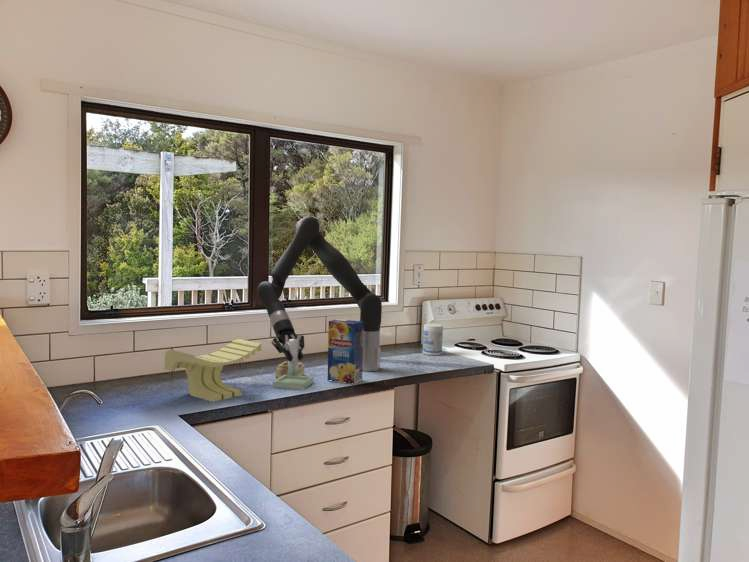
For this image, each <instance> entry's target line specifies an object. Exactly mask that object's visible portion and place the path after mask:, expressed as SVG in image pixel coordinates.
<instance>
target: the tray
mask: <svg viewBox="0 0 749 562" xmlns="http://www.w3.org/2000/svg"><path fill="white" fill-rule="evenodd" d="M312 382H313V383H314V376H306V375H304V376H288V375H283V376H281V377H280V378H275V380H273V381H272V388H277V387H282V388H281V389H288V388H292V389H291V390H300V389H303V390H304V388H305V387H306V388H308V387H309V386H310V385H311V383H312ZM313 383H312V384H313ZM309 384H310V385H309ZM308 385H309V386H308ZM306 388H305V389H306Z"/></svg>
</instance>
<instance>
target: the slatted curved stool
mask: <svg viewBox="0 0 749 562" xmlns="http://www.w3.org/2000/svg"><path fill="white" fill-rule="evenodd" d="M256 352H262V342H257V341H251V340H247V339H241V338H236V339H235V340H232V341H230V343H228V344H225V345H224V347H221V348H219V349H218V350H216V351H213V352H211V353H208V354H202V355H196V356H195V355H194V354H190V353H187V352H183V351H182V352H181V351H180V350H179V351H178V350H174V349H168V350H166V352H165V354H164V370H166V371H168V372H174V371H176V370H177V369H185V373H186V376H187V380H188V383H187V384H188V393H189V395H190V397H191V396H192V397H195V398H198V397H199V399H201V398H203V399H202V400H204V399H206V400H205V401H207V400H209V401H208V402H211V401H216V402H219V401H218V400H220V401H222V400H227V399H226V398H228V399H231V398H230V397H232V396H236V397H239V396H238V395H240V396H243V395H242V394H243V393H242V390H241V389H238V388H236V387H235V388H234V387H232V386H229V385H227V384H226V383H225V382H223V380H222V379H221V374H222V373H221V372H222V370H223V369H224V366H228V365H233V364H238V363H243V362H244V360H245V359H249V358H250V356H254V355H256ZM232 398H233V397H232Z"/></svg>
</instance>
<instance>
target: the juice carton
mask: <svg viewBox="0 0 749 562" xmlns="http://www.w3.org/2000/svg"><path fill="white" fill-rule="evenodd" d="M363 322H364V321H360V320H351V319H341V318H337V319H336V318H335V319H333V320H328V333H327V334H328V335H327V339H328V341H327V343H328V345H327V381H328V380H332V381H331V382H333V381H340V382H346V383H345V384H348V383H353V384H352V385H355V384H354V383H356V382H358V383H360V382H362V381H363V371H362V365H363ZM361 380H362V381H361ZM359 381H360V382H359ZM340 382H339V383H340ZM356 384H357V383H356Z"/></svg>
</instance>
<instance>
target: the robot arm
mask: <svg viewBox="0 0 749 562" xmlns="http://www.w3.org/2000/svg"><path fill="white" fill-rule="evenodd" d="M320 229H321V227H320V223H319V221H318V219H316V217H314V216H304V217H302V218H300V220H298V221H297V222H296V225H295V235H294V237H293V239H292V240H291V242H290V244H289V245H288V247H286V249H285V251H284V252H283V253H282V255H280V257H279V259H278V260H277V261H276V263H275V265H274V267H273V268H272V270H271V272H270V277H271V278H272V280H271V282H270V281H266V280H265V281H261V282H260V283H259V284H258V286H257V288H256V289H257V290H256V292H257V295H258V298H259V299H260V301H261V303H262V304H263V306H264V307H265V309H266V313H267V315H268V317H269V320H270V325H271V327H272V329H273V331H274V334H275V336H276V337H273V339H272V340H271V344H272V345H273V347H274V348H275V349H276V350H277V352H278V353H279V354H284V355H285V356H284V357H285V359H286V360H287V362H288V361H289V362H291V360H292V356H291V353H290V351H288V350H289V349H288V345H289V339H292V338H295V339H299V361H302V360H303V358H304V354H303V352H302V351H303V350H304V348H305V336H304V335H298V334H297V333H296V332H295V328H294V326H293V323H292V321H291V318H290V316H289V314H288V311H286V308H285V306H284V303H283V302H282V301H281V300H280V298H281V297H282V295H283V291H284V288H285V286H286V281H287V279H288V278H289V276H290V275H291V273H292V272H293V270H294V268H295V267H296V265H297V263H298V261H299V259H300V257H301V256H302V254H303V252H304V251H305V250H306V249H307V247H309V248H310V249H311V251H313V253H314V255H316V257H317V258H318V259H319V261H320V262H321V264H322V265H324V267H325V269H326V270H327V271H328V272H329V273H330V275H331V276H332V277H333V278H334V279H335V281H337V282H338V283H339V285H341V286H342V287H343V288H344V289H345V290H346V291H347V292H348V294H350V296H351V297H352V299H353V300H354V302H355V303H356V305H357V306H358V308H359V309H360V311H359V312H360V313H359V315H360V316H359V321H364V322H363V365H362V372H363V371H365V372H378V371H379V370H380V369H381V349H382V348H381V346H380V341H381V340H380V338H381V337H380V335H381V334H380V333H381V325H382V313H383V312H382V311H383V307H382V306H383V304H382V300H381V298H380V297H379V296H378V295H377V294H375V293H373V291H372V290H370V289H369V288H368V287H367V286H366V284H364V283H363V281H362V280H361V279H360V277H359V275H358V273H357V271H356V270H355V268H354V267H353V265H352V264H351V262H350V261H349V260H348V259H347V258H346V256H345V255H344V254H343V253H342V252H341V251H339V249H337V248H336V247H335V246H333V245H332V244H331V243H330V242H328V240H326V239H325V237H324V236H323V235H322V233H321V232H320Z"/></svg>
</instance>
